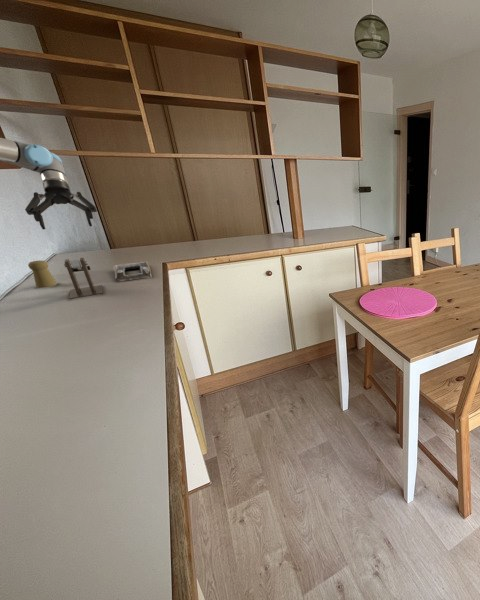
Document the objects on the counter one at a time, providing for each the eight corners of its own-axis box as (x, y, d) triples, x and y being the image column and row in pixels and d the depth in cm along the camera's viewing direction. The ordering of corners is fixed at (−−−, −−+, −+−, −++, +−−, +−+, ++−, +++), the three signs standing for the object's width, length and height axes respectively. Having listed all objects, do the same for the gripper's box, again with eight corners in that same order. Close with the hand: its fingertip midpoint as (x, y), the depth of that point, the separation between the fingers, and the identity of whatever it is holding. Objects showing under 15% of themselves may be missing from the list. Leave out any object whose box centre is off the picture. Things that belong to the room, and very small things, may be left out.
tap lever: (72, 273, 124) (70, 267, 124) (91, 271, 128) (89, 265, 128) (65, 268, 114) (63, 261, 114) (86, 265, 118) (84, 259, 117)
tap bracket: (71, 292, 122) (58, 258, 117) (102, 287, 128) (90, 254, 123) (70, 301, 114) (55, 264, 109) (103, 295, 120) (90, 260, 115)
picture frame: (149, 266, 158) (147, 261, 157) (154, 278, 141) (152, 272, 139) (114, 271, 150) (112, 265, 149) (115, 284, 132) (113, 277, 131)
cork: (32, 288, 125) (20, 262, 121) (51, 284, 131) (40, 258, 127) (43, 290, 124) (32, 263, 120) (62, 285, 130) (51, 259, 126)
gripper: (98, 190, 142) (109, 228, 137) (15, 192, 126) (25, 234, 121) (94, 178, 136) (106, 217, 131) (6, 178, 121) (16, 222, 116)
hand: (67, 225), depth 126 cm, fingers open, 13 cm apart
